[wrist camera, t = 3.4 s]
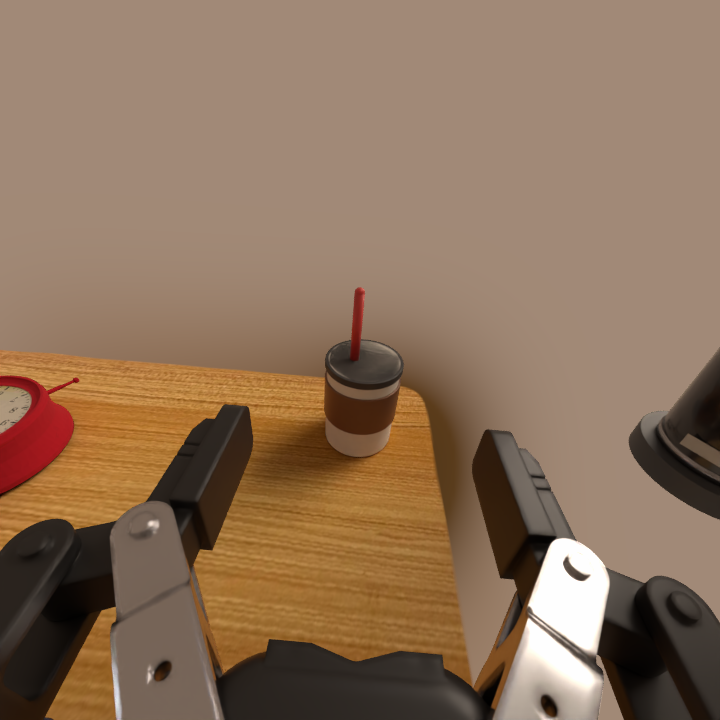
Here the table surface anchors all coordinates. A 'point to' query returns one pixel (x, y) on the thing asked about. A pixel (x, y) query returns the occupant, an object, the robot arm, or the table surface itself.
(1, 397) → the alarm clock
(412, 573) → the table surface
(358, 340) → the paper cup
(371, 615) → the table surface
